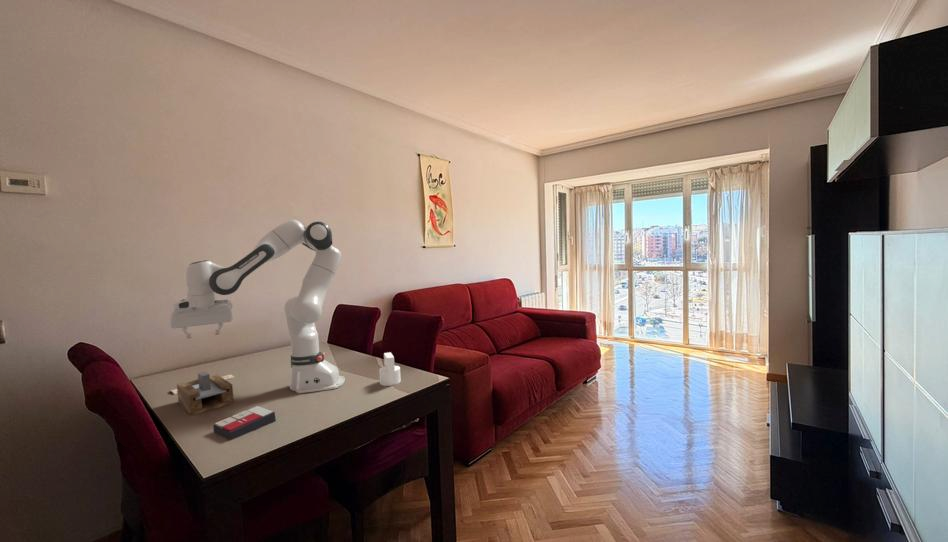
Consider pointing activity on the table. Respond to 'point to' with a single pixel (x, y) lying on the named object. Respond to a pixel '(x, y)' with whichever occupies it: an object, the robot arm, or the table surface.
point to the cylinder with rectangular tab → (389, 371)
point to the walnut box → (208, 403)
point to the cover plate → (209, 392)
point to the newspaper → (222, 377)
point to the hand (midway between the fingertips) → (203, 336)
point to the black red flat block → (244, 422)
